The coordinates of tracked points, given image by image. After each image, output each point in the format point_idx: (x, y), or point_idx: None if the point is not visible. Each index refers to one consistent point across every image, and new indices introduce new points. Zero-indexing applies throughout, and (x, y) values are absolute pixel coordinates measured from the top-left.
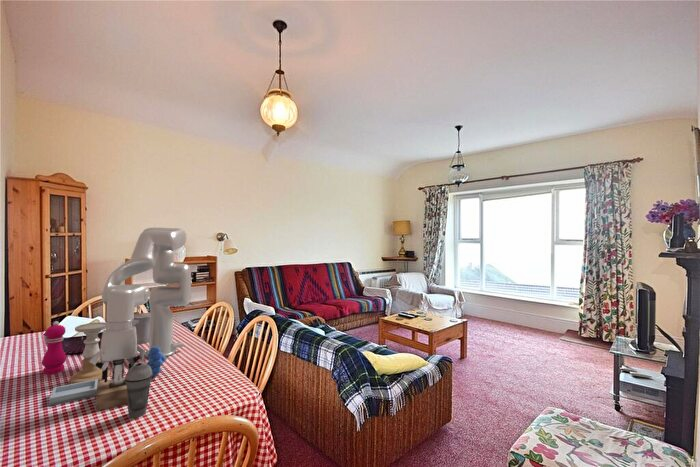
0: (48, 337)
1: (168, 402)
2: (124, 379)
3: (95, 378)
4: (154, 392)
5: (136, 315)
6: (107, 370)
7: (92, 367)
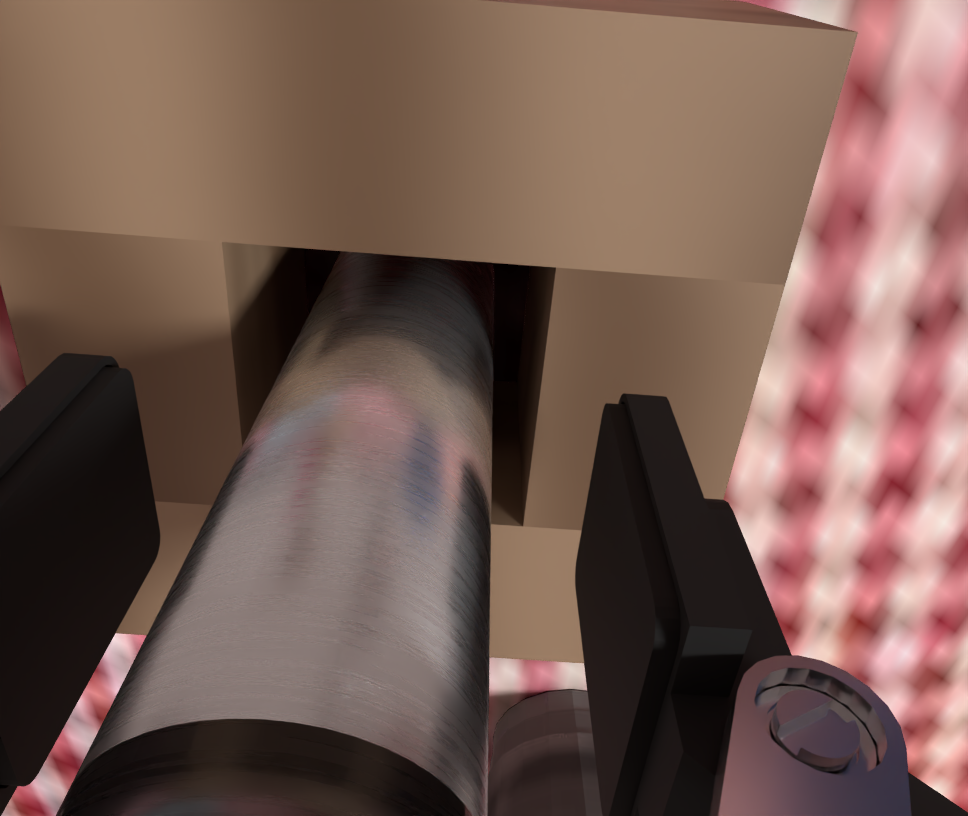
0: None
1: (882, 698)
2: (539, 215)
3: None
4: (902, 377)
5: None
6: (17, 785)
7: None
